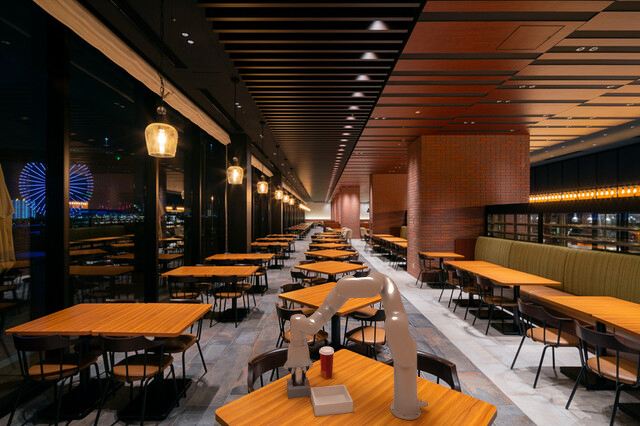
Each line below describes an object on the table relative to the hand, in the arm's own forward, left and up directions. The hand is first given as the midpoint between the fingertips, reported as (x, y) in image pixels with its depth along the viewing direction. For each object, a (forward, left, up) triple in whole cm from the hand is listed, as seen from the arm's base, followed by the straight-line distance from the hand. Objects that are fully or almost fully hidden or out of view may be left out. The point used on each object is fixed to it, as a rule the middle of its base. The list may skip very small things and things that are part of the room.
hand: (298, 380), depth 147 cm
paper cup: (-16, -12, -5) cm, 21 cm away
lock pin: (0, 0, -5) cm, 5 cm away
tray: (-13, +13, -5) cm, 19 cm away
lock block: (0, 0, -5) cm, 5 cm away
